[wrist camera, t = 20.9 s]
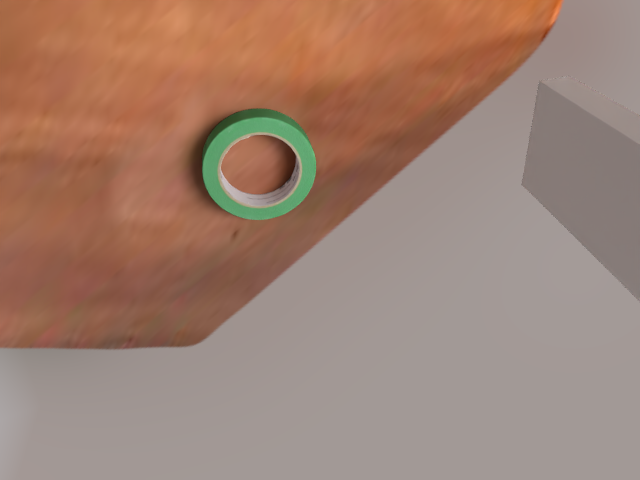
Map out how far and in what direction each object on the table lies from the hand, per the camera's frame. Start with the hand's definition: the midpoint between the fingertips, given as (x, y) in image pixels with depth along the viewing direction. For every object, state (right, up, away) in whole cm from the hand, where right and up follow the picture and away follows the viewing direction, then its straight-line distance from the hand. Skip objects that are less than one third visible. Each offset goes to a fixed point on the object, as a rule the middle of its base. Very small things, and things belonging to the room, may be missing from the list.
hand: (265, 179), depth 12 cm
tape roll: (-5, +7, +41) cm, 42 cm away
